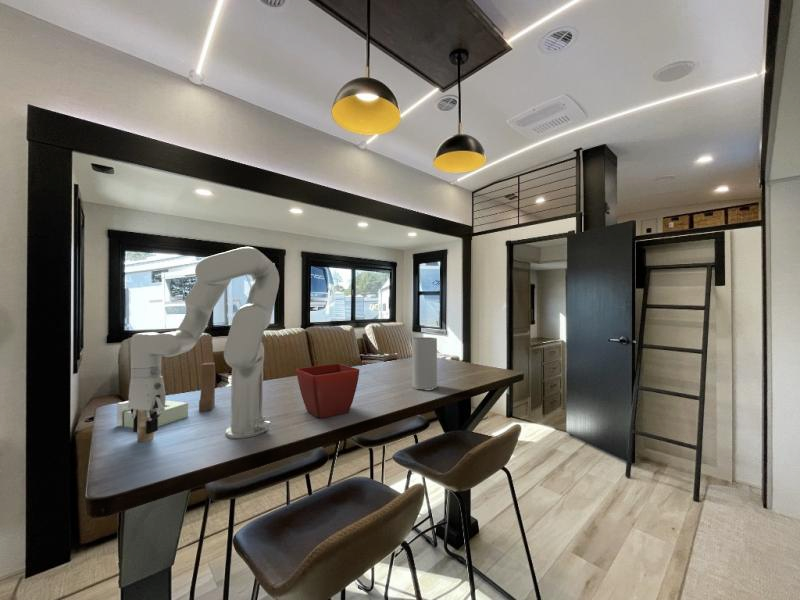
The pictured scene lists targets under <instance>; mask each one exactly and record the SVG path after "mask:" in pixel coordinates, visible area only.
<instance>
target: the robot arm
mask: <svg viewBox="0 0 800 600" xmlns="http://www.w3.org/2000/svg"><path fill="white" fill-rule="evenodd" d="M194 272H195V277H196V278H197V279H196V281H195V283H194V284H193V286H192V287H191V288H190V290H189V292H188V293H187V295H186V296H185V298H184V299H185V300H184V303H185V307H186V311H185V312H186V313H185V315H184V317H183V319H182V321H181V322H180V325H179V326H178V327H177V328H176V331H169V332H163V333H159V332H140V333H134V334H133V335H132V337H131V339H130V345H131V346H130V382H129V388H128V400H129V404H128V408H129V409H130V410H131V413H132V414H133V415H132V418H133V419H134V420H133V428H132V429H133V433H137V421H138V410H144V411H146V412H147V419H148V421H146V434H150V433H152V432H154V433H155V432H157V431H158V430H159V427H158V418H159V415H160V414H161V413H162V412H163V411H164V410H165V408H164V406H165V401H166V390H165V381H164V378H163V375H162V357H175V356H179V355H182V354H184V353H187V352H189V351H190V350H192V349H193V348H194V347H195V345H196V344H197V343H198V341H199V340H200V338H201V336H202V335H203V333H204V332H205V330H206V328H207V326H208V324H209V321H210V319H211V316H212V312H213V311H214V308H215V307H216V305H217V304H218V303H219V300H220V299H221V297H222V296H223V294H224V292H225V291H226V289H227V288H228V286H229V284H230V282H231V281H232V280H233V279H236V278H237V279H238V278H241V277H244V276H247V275H248V276H250V277H252V285H250V286H251V287H250V289H249V292H248V296H247V300H246V304H245V305H243V306H241V307H240V308H238V310H236V312H235V313H234V316H233V318H232V321H231V324H230V328H229V332H228V336H227V338H226V342H225V346H224V349H223V359H224V360H225V362H226V364H227V366H229V367H230V368H232V369H231V379H230V381H231V386H230V390H231V391H230V426H229V427H227V428H226V430H225V436H226V437H227V438H230V439H245V438H251V437H255V436H259V435H261V434H262V433H265V432H266V431H268V430H269V428H270V426H272V421H270V420H269V421H267V420H266V415H263V412H264V411H263V406H264V405H263V404H264V402H263V401H264V397H263V395H264V361H265V346H264V344H263V342H262V339H263V335H264V332H265V330H266V329H267V328H268V327H269V326H270V324H271V319H272V315H273V311H274V308H275V303H276V299H277V294H278V291H279V286H280V285H279V284H280V275H279V271H278V268H277V267H276V265H275V264H274V262H272V261H271V260H270V259H269V258H268V257H267V256H266V255H265V254H264V253H263V252H261V251H260V250H259V249H257V248H255V247H251V246H244V247H238V248H236V249H231V250H228V251H225V252H221V253H217V254H213V255H210V256H206V257H204V258H202V259H201V260H199V262H197V264H196V266H195V270H194ZM153 407H154V409H153ZM151 411H154V412H153V414H152V415H151Z"/></svg>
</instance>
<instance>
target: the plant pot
mask: <svg viewBox="0 0 800 600" xmlns="http://www.w3.org/2000/svg"><path fill="white" fill-rule="evenodd" d="M295 369H296V370H295V371H296V376H297V381H298V382H297V383H298V387H299V391H300V395H301V398H302V401H303V403H304V406H305V408H306V409H305V410H306V411H307V412H308V413H310V414H311V415H313V416H314V417H316V418H317V419H325V418H328V417H333V416H337V415H341V414H347V413H349V412H350V410H351V408H352V404H353V401H354V399H355V396H356V390H357V387H358V382H359V375H360V369H359V368H357V367H353V366H349V365H346V364H342V363H331V364H324V365H323V364H322V365H314V366H306V367H300V368H299V367H298V368H295Z"/></svg>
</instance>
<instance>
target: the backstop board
mask: <svg viewBox="0 0 800 600" xmlns="http://www.w3.org/2000/svg"><path fill="white" fill-rule="evenodd" d="M128 404H129V399H128V400H126V401H121V402H117V404H116V406H117V411H116V426H117V427H120V426H121V427H123V428H124V412H126V411H130V409H129V408H128Z"/></svg>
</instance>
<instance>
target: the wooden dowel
mask: <svg viewBox="0 0 800 600" xmlns="http://www.w3.org/2000/svg"><path fill="white" fill-rule="evenodd" d="M153 409H154V407H153ZM153 412H154V411H151V415H152V414H153ZM146 421H148V419H147V412H146V411H144V410H138V421H137V432H136V433H137V436H136V438H137V439H136V440H137V441H136V442H137V443H146V442H149V441H152V440H153V439H154V436H155V435H154V433H155V432H152V433H150V434H146Z"/></svg>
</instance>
